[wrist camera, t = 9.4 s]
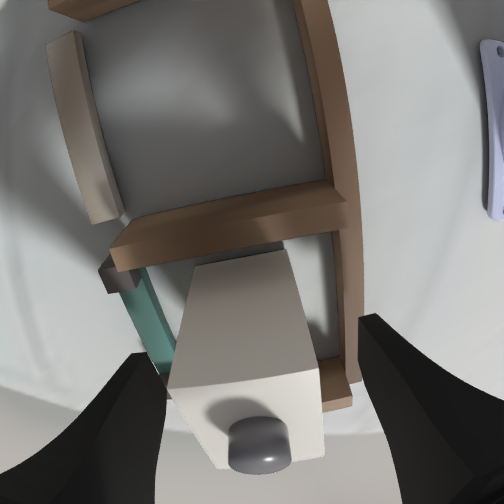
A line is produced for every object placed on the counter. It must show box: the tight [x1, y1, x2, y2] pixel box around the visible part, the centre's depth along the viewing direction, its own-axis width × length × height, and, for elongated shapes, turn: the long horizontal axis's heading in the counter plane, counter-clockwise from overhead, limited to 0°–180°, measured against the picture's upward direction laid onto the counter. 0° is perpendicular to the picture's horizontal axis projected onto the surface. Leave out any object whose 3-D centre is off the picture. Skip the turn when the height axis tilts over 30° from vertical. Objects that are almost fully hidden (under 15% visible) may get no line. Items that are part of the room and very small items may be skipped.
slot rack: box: [46, 0, 364, 413], centre depth 10 cm, size 9×18×2 cm, turn 11°
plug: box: [167, 249, 325, 475], centre depth 10 cm, size 4×4×7 cm
